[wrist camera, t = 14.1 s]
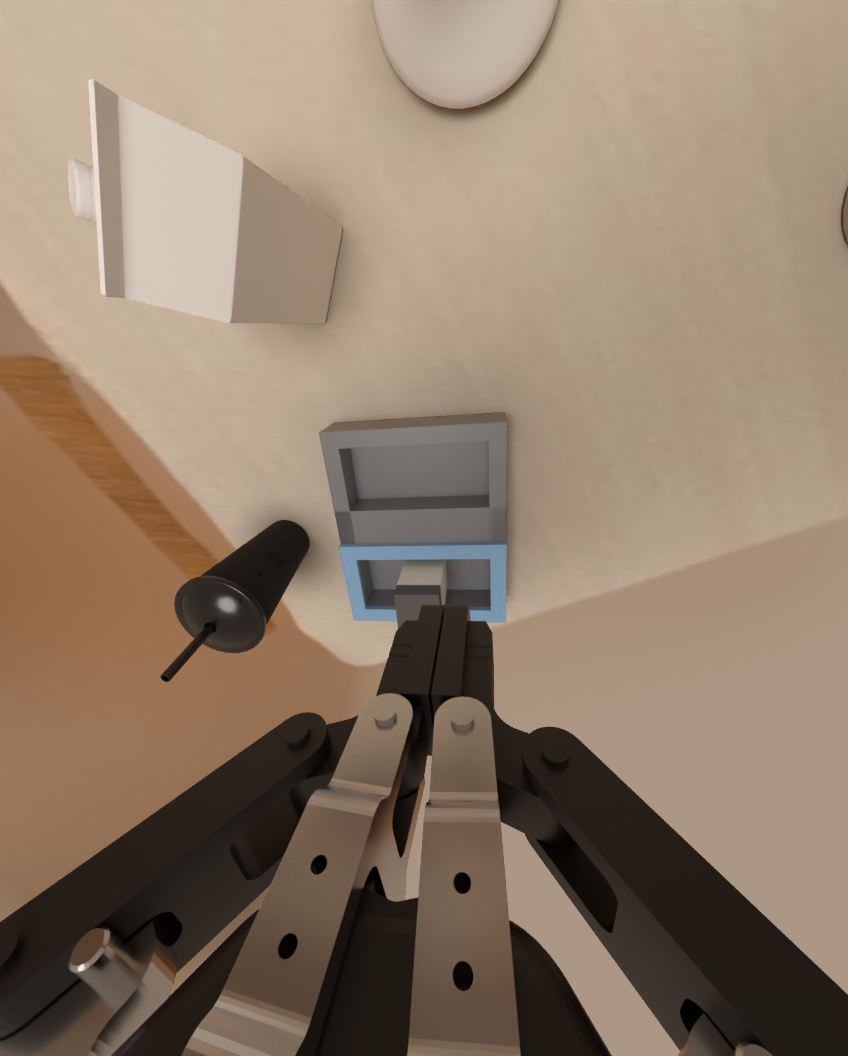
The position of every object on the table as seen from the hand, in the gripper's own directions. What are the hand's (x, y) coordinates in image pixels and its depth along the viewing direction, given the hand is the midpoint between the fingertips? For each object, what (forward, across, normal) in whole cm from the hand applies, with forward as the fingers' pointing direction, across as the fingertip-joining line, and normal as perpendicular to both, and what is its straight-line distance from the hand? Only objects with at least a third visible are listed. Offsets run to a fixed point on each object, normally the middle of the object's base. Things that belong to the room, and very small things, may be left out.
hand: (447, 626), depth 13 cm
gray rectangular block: (+26, +6, +14) cm, 30 cm away
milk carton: (+27, +14, -15) cm, 34 cm away
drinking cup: (+27, +21, +11) cm, 36 cm away
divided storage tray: (+27, +6, +8) cm, 29 cm away
